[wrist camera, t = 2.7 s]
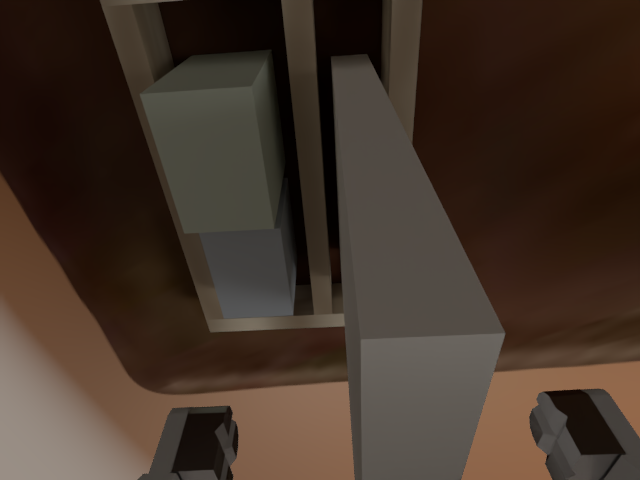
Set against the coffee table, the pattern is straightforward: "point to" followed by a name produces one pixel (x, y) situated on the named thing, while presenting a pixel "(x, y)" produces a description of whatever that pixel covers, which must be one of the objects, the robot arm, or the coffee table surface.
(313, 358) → the coffee table surface
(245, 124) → the sage offcut
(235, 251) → the slate offcut
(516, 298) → the coffee table surface
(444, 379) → the tall board
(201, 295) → the birch rack
